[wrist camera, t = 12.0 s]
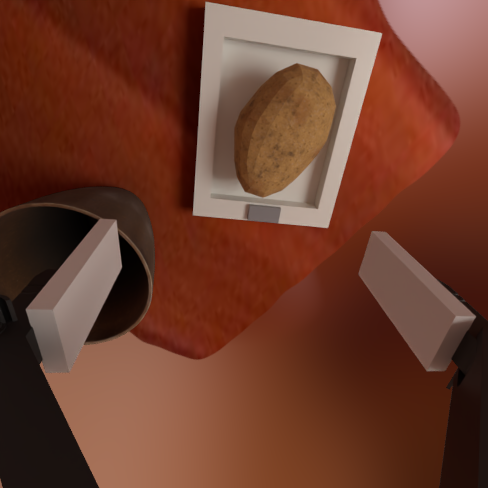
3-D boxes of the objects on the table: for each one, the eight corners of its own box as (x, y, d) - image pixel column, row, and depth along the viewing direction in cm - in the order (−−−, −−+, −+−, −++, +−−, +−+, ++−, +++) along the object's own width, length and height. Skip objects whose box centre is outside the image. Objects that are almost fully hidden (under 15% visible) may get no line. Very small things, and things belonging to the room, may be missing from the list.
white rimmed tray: (206, 7, 32) (205, 0, 29) (371, 36, 34) (385, 32, 31) (194, 208, 42) (192, 217, 39) (322, 220, 44) (329, 229, 41)
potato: (211, 165, 39) (210, 183, 32) (267, 47, 33) (279, 38, 26) (278, 197, 41) (290, 222, 34) (339, 94, 36) (369, 97, 29)
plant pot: (117, 279, 46) (71, 367, 32) (32, 202, 40) (-71, 268, 26) (197, 226, 43) (185, 297, 29) (118, 133, 37) (55, 164, 23)
